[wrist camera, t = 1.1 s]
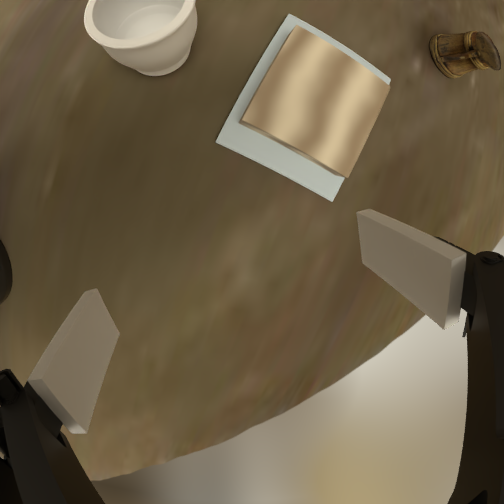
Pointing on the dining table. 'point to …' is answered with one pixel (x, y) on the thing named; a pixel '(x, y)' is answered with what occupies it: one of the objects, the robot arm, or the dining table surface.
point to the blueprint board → (269, 150)
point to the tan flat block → (316, 102)
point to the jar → (144, 32)
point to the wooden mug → (464, 53)
